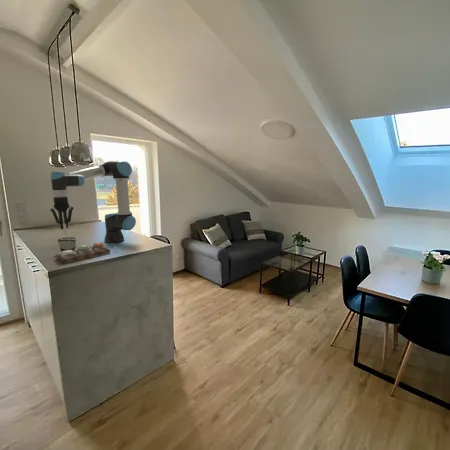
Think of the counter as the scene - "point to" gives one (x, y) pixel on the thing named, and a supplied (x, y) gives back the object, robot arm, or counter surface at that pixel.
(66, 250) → the cream button
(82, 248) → the sage button
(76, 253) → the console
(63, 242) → the food container
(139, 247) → the counter surface
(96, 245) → the terracotta button
